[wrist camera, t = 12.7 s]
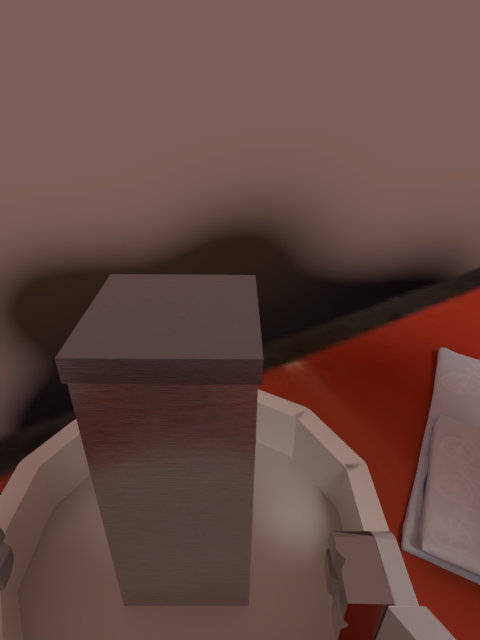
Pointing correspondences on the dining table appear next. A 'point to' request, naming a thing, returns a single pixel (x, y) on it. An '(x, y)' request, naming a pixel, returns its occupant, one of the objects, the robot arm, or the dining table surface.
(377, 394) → the dining table surface
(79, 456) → the bowl
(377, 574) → the robot arm
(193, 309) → the tin
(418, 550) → the printed paper sheets
